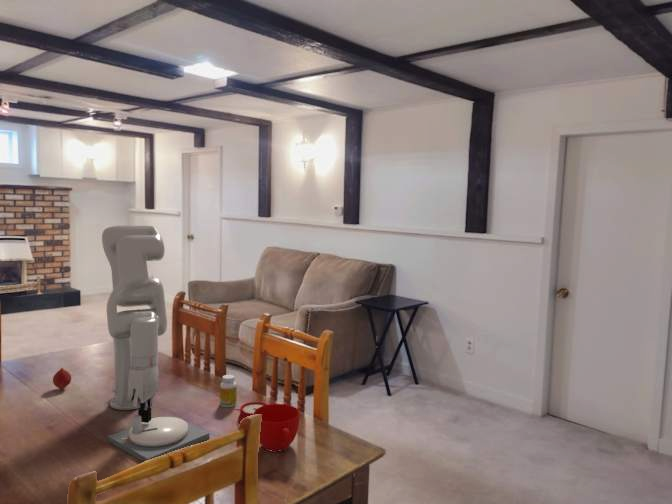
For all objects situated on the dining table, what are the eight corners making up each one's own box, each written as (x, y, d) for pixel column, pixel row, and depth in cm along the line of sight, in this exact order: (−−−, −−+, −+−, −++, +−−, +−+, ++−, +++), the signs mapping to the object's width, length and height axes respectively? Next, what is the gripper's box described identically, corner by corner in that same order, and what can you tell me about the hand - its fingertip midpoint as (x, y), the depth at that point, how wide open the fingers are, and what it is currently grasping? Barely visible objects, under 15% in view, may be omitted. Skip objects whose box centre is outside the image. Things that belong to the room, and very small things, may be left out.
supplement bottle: (232, 408, 175) (232, 380, 174) (217, 406, 176) (217, 378, 175) (238, 402, 180) (239, 374, 179) (224, 400, 181) (224, 373, 180)
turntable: (133, 451, 140) (133, 429, 140) (125, 427, 154) (125, 407, 154) (193, 439, 148) (193, 419, 147) (181, 417, 162) (181, 399, 161)
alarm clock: (253, 399, 174) (285, 400, 165) (256, 418, 174) (288, 421, 165) (228, 408, 166) (260, 410, 157) (231, 428, 166) (263, 431, 157)
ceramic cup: (263, 468, 137) (264, 431, 136) (247, 440, 152) (248, 407, 151) (310, 459, 142) (311, 424, 141) (290, 433, 158) (291, 401, 157)
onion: (49, 390, 186) (48, 368, 185) (63, 385, 191) (62, 364, 190) (61, 393, 184) (60, 371, 183) (75, 388, 189) (74, 366, 188)
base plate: (107, 441, 150) (107, 435, 150) (168, 418, 165) (168, 413, 165) (147, 464, 138) (147, 458, 137) (209, 437, 153) (209, 432, 153)
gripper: (145, 351, 160) (145, 409, 162) (117, 367, 145) (118, 431, 147) (168, 353, 158) (168, 412, 161) (143, 370, 144) (143, 434, 146)
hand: (144, 421), depth 154 cm, fingers closed
